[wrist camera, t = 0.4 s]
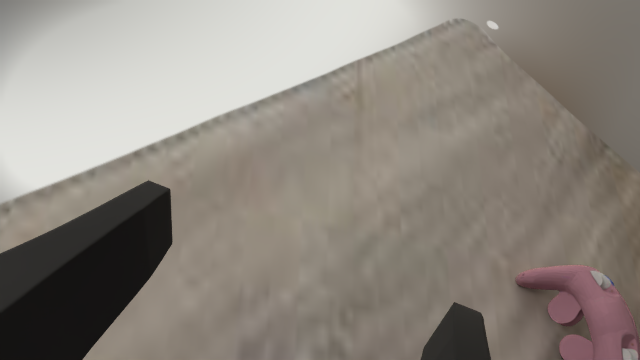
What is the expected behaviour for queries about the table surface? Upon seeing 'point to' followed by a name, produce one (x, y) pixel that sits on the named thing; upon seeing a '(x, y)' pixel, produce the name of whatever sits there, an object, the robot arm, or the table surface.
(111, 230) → the robot arm
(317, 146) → the table surface
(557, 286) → the video game controller
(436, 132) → the table surface
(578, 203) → the table surface
